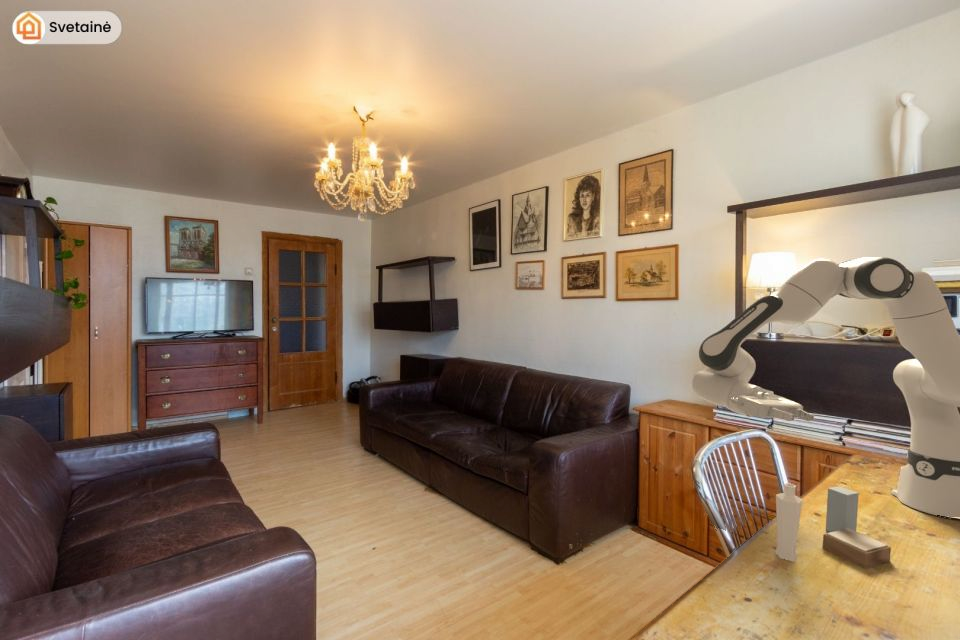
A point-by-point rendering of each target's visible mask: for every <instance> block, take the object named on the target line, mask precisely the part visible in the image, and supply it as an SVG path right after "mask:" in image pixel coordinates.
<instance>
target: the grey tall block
mask: <svg viewBox="0 0 960 640" xmlns="http://www.w3.org/2000/svg"><path fill="white" fill-rule="evenodd" d="M859 495H860V494H859V492H857V491H855V490H851V489H849V488H846V487H843V486H839V485H838V486H837V485H836V486H832V487H828V488H827V500H826V517H825V519H826V520H825V531H826V532H827V533H830V532H834V531H838V530H843V529H847V528H849V529H851V530H854V531H856V532H857V526H858V510H859V509H858V508H859V507H858V506H859Z"/></svg>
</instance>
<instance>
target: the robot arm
mask: <svg viewBox="0 0 960 640" xmlns="http://www.w3.org/2000/svg"><path fill="white" fill-rule="evenodd" d="M837 295H839V296H840V297H844V298H848V299H849V298H850V299H856V300H857V299H858V300H871V299H873V300H874V299H875V300H882V301H883V302H884V304H885V306H886V307H887V310H888V314H889V318H890V319H891V322H892V325H893V327H894V330H895V333H896V335H897V339H898V342H899V343H900V345H901V346H902V347H903V348H904V349H905V350H906V351H908V352H909V353H910V354H911V355H912V356H913V357H914V358H909V359H905V360H902V361H900V362H899V363H898V364H897V365H896V366H895V367H894V369H893V372H892V378H893V382H894V384H895V385H896V386H897V388H899V390H900V391H901V393H902V394H903V397H904V400H905V402H906V406H907V409H908V414H909V417H910V418H909V419H910V443H909V444H910V446H909V449H907V453H906V463H907V464H906V465H903V466H901V467H900V472H899V478H898V484H897V489H892V490H891V495H893V496H895V497H896V498H897V500H898V501H900V502H901V503H902V504H904V505H906V506H907V507H910V508H912V509H915V510H917V511H920V512H924V513H927V514H930V515H933V516H937V515H940V516H939V517H941V516H949V517H960V412H959V409H958V408H960V334H959V332H958V330H957V327H956V325H955V324H954V319H953V318H952V315H951V313H950V312H951V311H950V310H949V307H948V305H947V302H946V299H945V297H944V296H943V294H942V292H941V290H940V288H939V286H938V285H937V283H936V282H935V280H934V279H933V277H932V276H931V275H930V274H929V273H928V272H925V271H924V270H923V271H922V270H910V269H907V268H906V267H905V266H904V264H902V263H901V262H900V261H898V260H897V259H893V258H890V257H886V256H876V257H873V256H871V257H861V258H857V259H853V260H851V259H850V260H847V261H843V262H841V263H836V262H835V261H833V260H830V259H827V258H826V259H825V258H818V259H817V258H816V259H814V260H811V261H810V262H807V264H806V265H804V266H803V267H801V268H800V269H799V270H798V271H796V272H795V273H794V274H793V275H792V276H790V278H788V279H787V280H786V281H785V282H784V283H783V284H782V285H781V286H780V287H779V288H778V289H776V290H775V291H774V292H772V293H770V294H769V295H764V296H763V297H760V298H758V299H757V300H756V301H755V302H753V303H752V304H751V305H749V306H748V307H747V308H746V309H744V311H742V312H740V313H739V314H738V315H737V316H736V317H735V318H734V319H733V320H731V321H730V322H729V323H727V325H725V326H724V327H723V328H721V329H720V330H718V331H716V332H714V333H712V334H711V335H709V336H708V337H706V338H705V339H704V340H703V341H702V343H701V344H700V347H699V349H698V357H699V360H700V362H701V363H702V364H703V365H704V366H706V368H704V369H702V370H699V371H697V372H696V373H695V374H694V376H693V378H692V382H691V383H692V385H691V386H692V389H693V392H694V394H696V396H697V397H698V398H700V399H702V400H704V401H706V402H708V403H710V404H712V405H715V406H718V407H723V408H724V407H725V408H727V409H728V410H729V411H730V412H731V411H732V412H734V413H737V414H740V415H742V416H745V417H747V418H753V417H755V418H756V417H757V418H764V419H765V418H771V419H772V418H775V419H781V420H784V421H786V422H794V421H795V419H802V420H803V421H807V422H813V421H814V419H815V414H812V413H809V412H807V411H805V410H803V409H804V406H803V405H802V404H800V403H798V402H795V401H793V400H791V399H788V398H786V397H783V396H780V395H777V394H774V391H772V390H770V389H765V388H763V387H761V386H758V385H755V384H752V383H750V381H751V379H752V377H753V376H755V375H754V374H755V372H756V370H757V369H756V368H757V364H756V360H755V358H754V357H753V356H751V355H750V353H749V352H748V351H746V350H745V349H743V347H741V345H742V344H743V343H744V342H745V341H746V340H748V339H749V338H750V337H751V336H752V335H754V334H755V333H756V332H758V330H760V329H761V328H762V327H764V326H765V325H767V324H770V323H775V322H776V323H782V324H789V325H796V324H799V325H800V324H803V323H804V322H807V321H808V320H810V319H812V317H814V316H815V315H816V314H817V313H818V312H820V310H822V308H823V307H824V306H825V305H827V303H828V302H829V301H830V300H831V299H832V298H834V297H835V296H837Z"/></svg>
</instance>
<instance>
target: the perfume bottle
mask: <svg viewBox="0 0 960 640" xmlns="http://www.w3.org/2000/svg"><path fill="white" fill-rule="evenodd" d="M796 487H797V485H795V484H794V483H790V482H789V483H787V482H784V483H783V492H782V493H781V492H780V493H776V494H775V504H776V505H775V506H776V507H775V508H776V509H775V511H776V539H777V541H776V543H777V544H776V545H777V546H776V547H775V552H774V553H775V555H776V556H777V555H778V556H777V557H778V558H779V559H781V560H784V559H785V560H786V561H788V560H789V562H792V563H794V562H796V561H797V560H798V555H797V550H796V549H797V543H798V534H799V527H800V521H801V513H802V505H803V499H802V498H800V497H799V496H797V495H796ZM785 560H784V561H785Z"/></svg>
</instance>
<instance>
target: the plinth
mask: <svg viewBox="0 0 960 640" xmlns="http://www.w3.org/2000/svg"><path fill="white" fill-rule="evenodd" d="M822 536H823V537H822V548H823V549H825V550H827V551H829V552H831V553H833V554H835V555H837V556H839V557H841V558H843V559H845V560H847V561H849V562H852V563H853V564H856V565H857V566H859V567H862V568H863V569H868V568H871V567H875V566H879V565H881V564H885V563H888V562H890V561H891V552H892V551H891V549H892V547H891V546H890V545H888V544H886V543H884V542H881V541H879V540H876V539H875V538H872V537H870V536H868V535H865V534H863V533H861V532H859V531H857V530H856V531H854V530H851V529H849V528H847V529H843V530H838V531H834V532H826V533H823V535H822Z"/></svg>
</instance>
